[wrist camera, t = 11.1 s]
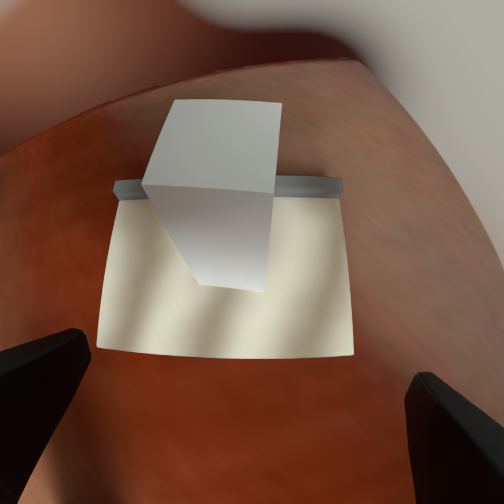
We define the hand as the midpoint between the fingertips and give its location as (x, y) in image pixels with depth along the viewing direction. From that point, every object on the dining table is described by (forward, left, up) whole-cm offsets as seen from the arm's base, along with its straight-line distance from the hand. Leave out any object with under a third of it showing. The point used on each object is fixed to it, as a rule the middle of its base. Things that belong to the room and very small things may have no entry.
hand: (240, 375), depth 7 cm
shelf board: (-2, +7, -13) cm, 15 cm away
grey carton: (-1, +8, -12) cm, 15 cm away
